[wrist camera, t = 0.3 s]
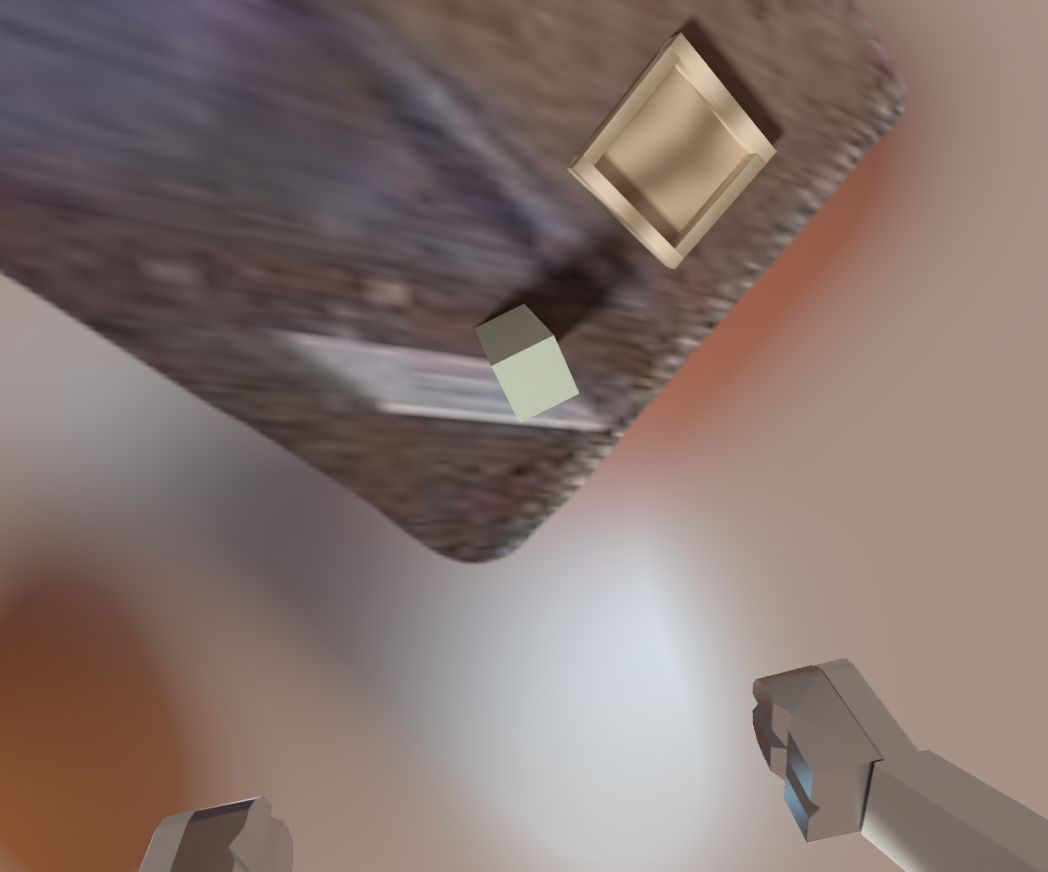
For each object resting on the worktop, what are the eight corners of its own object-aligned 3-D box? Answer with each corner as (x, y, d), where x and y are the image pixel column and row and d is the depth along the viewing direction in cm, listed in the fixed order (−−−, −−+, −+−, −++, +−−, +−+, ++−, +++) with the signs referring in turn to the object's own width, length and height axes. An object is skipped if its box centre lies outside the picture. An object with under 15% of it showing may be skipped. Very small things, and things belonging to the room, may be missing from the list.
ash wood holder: (565, 168, 50) (573, 167, 48) (667, 39, 48) (680, 32, 45) (663, 265, 55) (674, 269, 53) (760, 152, 52) (776, 151, 50)
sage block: (474, 328, 54) (491, 366, 43) (524, 303, 54) (553, 335, 43) (497, 375, 56) (519, 422, 45) (545, 351, 56) (579, 393, 45)
